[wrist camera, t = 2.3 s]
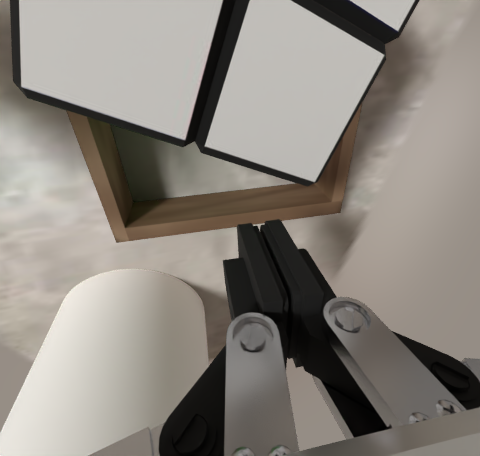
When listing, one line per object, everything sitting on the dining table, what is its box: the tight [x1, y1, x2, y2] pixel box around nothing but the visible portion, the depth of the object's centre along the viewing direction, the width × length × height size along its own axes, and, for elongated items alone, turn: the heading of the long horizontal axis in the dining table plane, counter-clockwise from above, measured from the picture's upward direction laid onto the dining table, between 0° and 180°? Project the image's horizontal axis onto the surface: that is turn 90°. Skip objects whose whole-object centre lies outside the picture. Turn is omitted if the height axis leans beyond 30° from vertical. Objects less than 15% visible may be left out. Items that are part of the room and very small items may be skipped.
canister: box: [0, 269, 209, 456], centre depth 19 cm, size 14×14×20 cm
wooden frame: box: [66, 103, 362, 243], centre depth 14 cm, size 19×16×4 cm
